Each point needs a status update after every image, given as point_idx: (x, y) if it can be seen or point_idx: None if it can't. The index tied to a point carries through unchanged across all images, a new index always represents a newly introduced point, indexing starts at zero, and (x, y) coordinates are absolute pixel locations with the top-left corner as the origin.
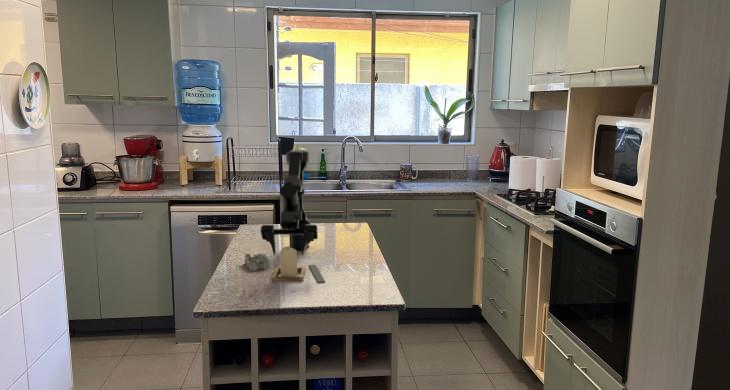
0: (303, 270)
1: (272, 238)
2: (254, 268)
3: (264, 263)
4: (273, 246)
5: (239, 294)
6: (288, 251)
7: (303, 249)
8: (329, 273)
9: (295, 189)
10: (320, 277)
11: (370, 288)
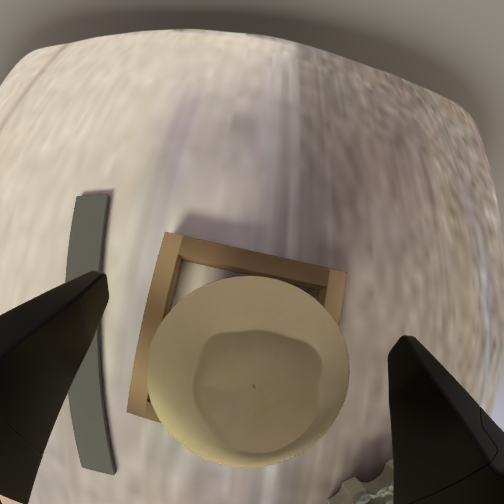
0: (142, 352)
1: (502, 462)
2: None
3: (363, 490)
4: (448, 387)
5: (435, 168)
6: (261, 300)
7: (65, 285)
8: None
9: None
10: (77, 254)
11: (2, 125)
